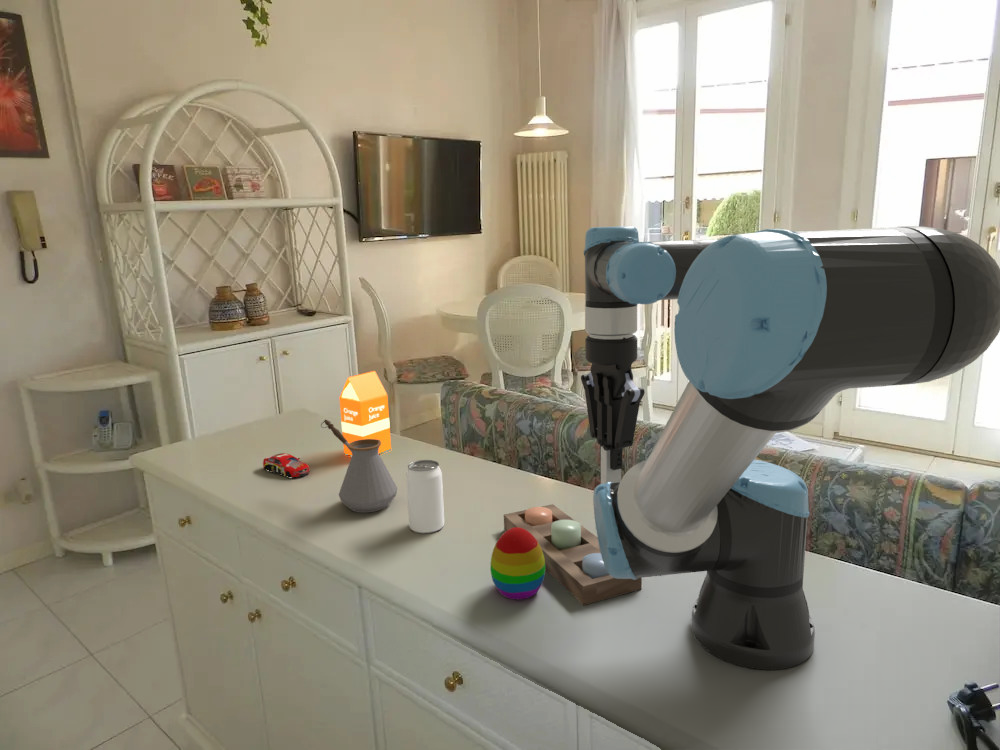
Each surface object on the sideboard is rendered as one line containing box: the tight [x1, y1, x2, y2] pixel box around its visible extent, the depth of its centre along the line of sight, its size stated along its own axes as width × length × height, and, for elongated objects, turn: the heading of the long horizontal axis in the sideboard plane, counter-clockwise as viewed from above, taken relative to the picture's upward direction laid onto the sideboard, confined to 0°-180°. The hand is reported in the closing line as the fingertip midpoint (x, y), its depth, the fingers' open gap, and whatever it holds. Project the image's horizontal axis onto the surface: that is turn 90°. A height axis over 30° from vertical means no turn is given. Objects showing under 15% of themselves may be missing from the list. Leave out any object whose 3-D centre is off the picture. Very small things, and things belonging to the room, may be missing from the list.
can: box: [405, 459, 445, 534], centre depth 125 cm, size 6×6×12 cm
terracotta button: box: [525, 506, 552, 527], centre depth 121 cm, size 5×5×4 cm
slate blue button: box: [582, 553, 609, 579], centre depth 103 cm, size 5×5×4 cm
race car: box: [262, 452, 311, 478], centre depth 157 cm, size 13×5×4 cm, turn 51°
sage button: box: [551, 519, 582, 551], centre depth 112 cm, size 5×5×4 cm
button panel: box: [503, 503, 643, 606], centre depth 112 cm, size 28×10×3 cm, turn 24°
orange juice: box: [339, 370, 392, 455], centre depth 167 cm, size 8×9×20 cm
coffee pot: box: [320, 419, 398, 513], centre depth 139 cm, size 21×12×15 cm, turn 43°
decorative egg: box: [490, 527, 546, 600], centre depth 102 cm, size 8×8×10 cm
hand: (610, 486), depth 105 cm, fingers closed
